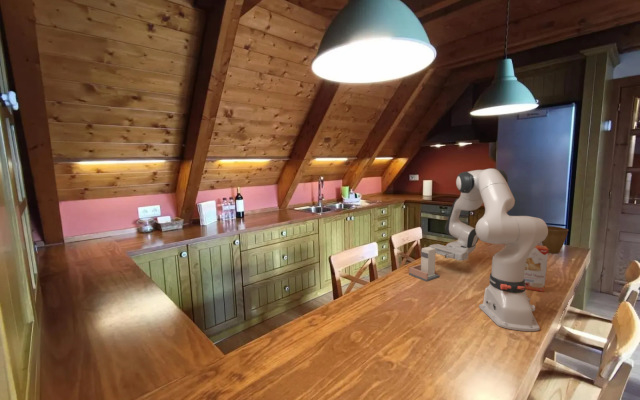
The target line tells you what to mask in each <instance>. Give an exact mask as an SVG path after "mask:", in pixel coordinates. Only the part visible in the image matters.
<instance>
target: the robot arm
mask: <svg viewBox="0 0 640 400" xmlns="http://www.w3.org/2000/svg"><path fill="white" fill-rule="evenodd" d="M508 182H509V178H508V174H507V173H506V172H505V171H504V170H502V169H500V168H499V169H498V168H493V167H492V168H486V169H475V170H470V171H466V170H465V171H463V172H459V174H457V176H456V180H455V184H456V188H457V190H458V191H459V192H460V195H459V197H457V198H455V200H453V203H452V206H451V208H450V212H449V215H448V219H447V221H446V223H445V225H444V230H445V233H446V234H447V235H449V236H451V237H453V238H455V239H457V240H456V241H451V242H448V243H447V244H446V245H444V244H439V243H434V244H430V245H429V246H428V247H431V248H435V249H436V253H435V254H437V255H440V256H444V258H445V259H454V260H457V261H460V262H461V261H465V260H466V261H467V260H468V259H469V254H471V253H473V252H474V251H475V250H476V245H477V243H478V242H479V241H481V242H484V243H489V244H493V245H505V246H504V247H503V248H502V249H501V250H499V251H498V252H496V253H495V254H493V256H492V258H491V260H492V261H491V273H490V274H489V277H488V278H489V285H488V286H486V287H485V289H484V296H483V303H479V306H478V308H480V310H481V311H482V312H483V313H484V314H485V315H486V316H487V317H488V318H490V320H492V322H493V323H495V325H496V326H498V327H501V328H505V329H508V330H514V331H520V332H521V331H523V332H537V331H540V330H541V328H540V325H539V324H538V321H537V318H536V317H535V315H534V314H533V312H535V311H536V306H535V304H531V303H530V301H531V297H528V294H527V293H526V290H527V289H525V280H524V271H525V265H526V260H527V258H528V256H529V254H530V253H531V251H532V250H533V249H534V247H535V246H536V245H540V244H541V243H542V241H544V240H545V239H546V237H547V235H548V227H547V226H548V225H547V223H546V221H545V220H543V218H539V217H534V216H529V215H509V214H508V212H509V211H510V210H512V209H513V208H514V206H515V203H516V200H515V197H514V195H513V192H512V190H511V189H510V186H509V184H508ZM482 206H484V214H483V216H482V217H481V218H479V219H478V220H477V222H476V225H475V228H474V227H473V226H471V225H468V224H466V223H465V222H462V221H461V220H460V215H461V212H462V211H465V212H466V211H467V212H471V211H475V210H478V209H479V208H480V207H482Z"/></svg>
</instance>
